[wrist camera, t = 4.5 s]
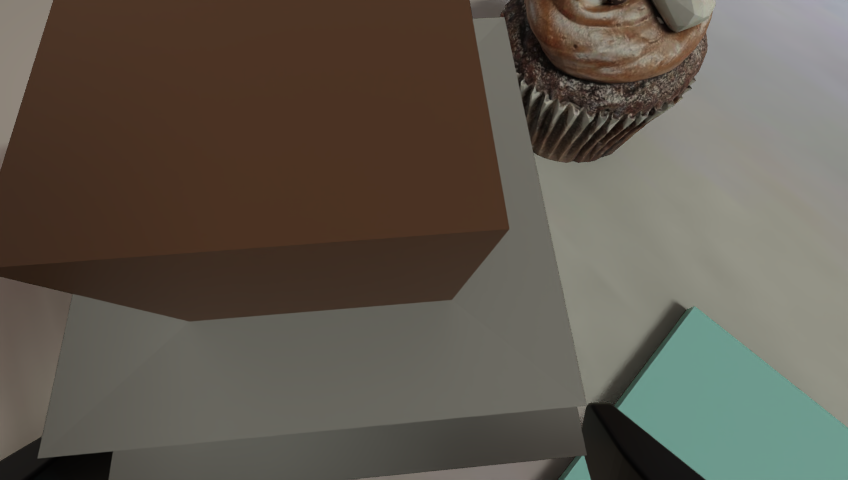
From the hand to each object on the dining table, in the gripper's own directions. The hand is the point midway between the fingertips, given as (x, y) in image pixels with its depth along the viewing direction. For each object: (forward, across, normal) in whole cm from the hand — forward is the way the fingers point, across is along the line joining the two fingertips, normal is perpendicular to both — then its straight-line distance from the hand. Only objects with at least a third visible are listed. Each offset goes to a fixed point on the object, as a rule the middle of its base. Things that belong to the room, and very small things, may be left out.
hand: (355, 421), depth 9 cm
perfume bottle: (+10, 0, +6) cm, 12 cm away
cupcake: (+20, -10, -4) cm, 23 cm away
